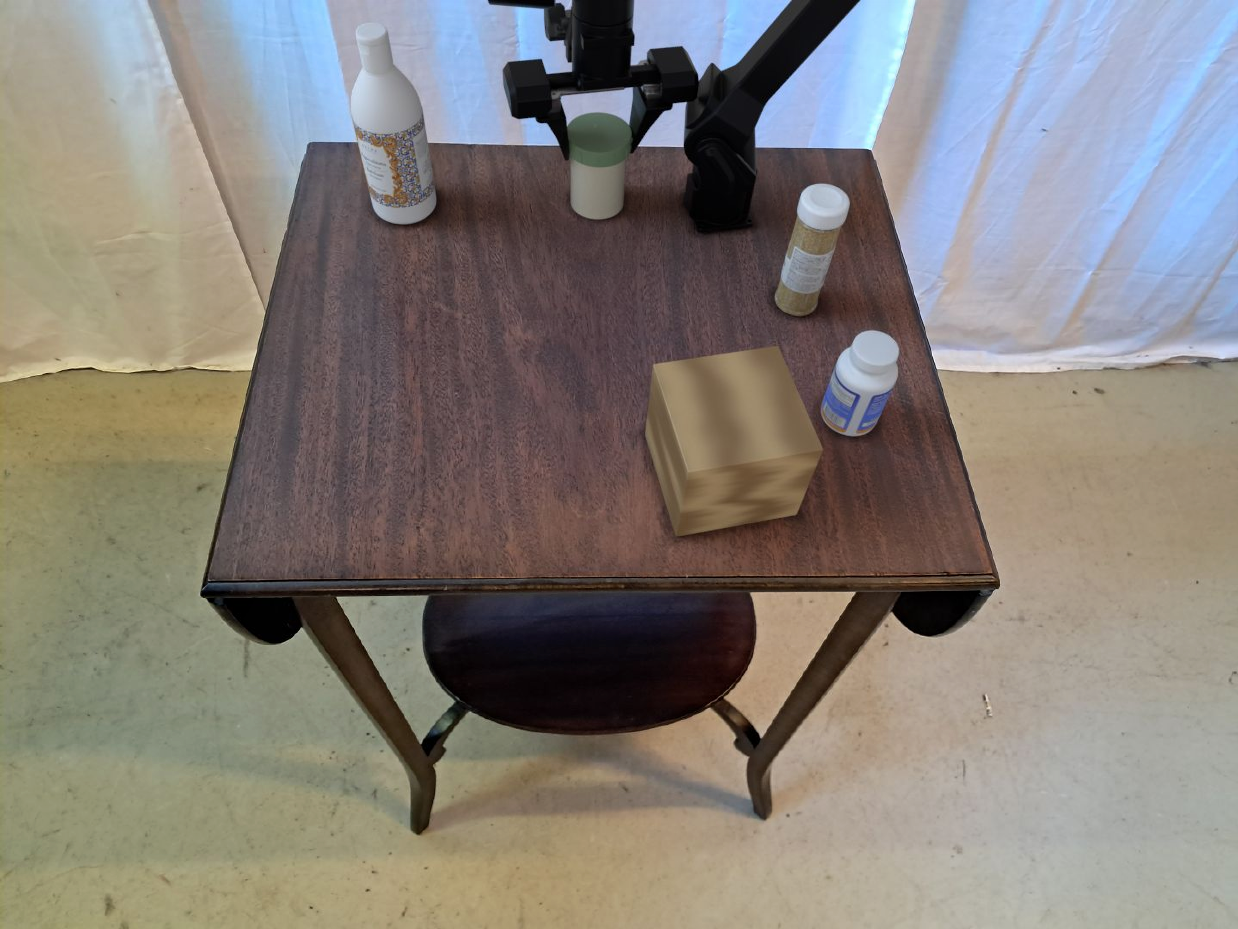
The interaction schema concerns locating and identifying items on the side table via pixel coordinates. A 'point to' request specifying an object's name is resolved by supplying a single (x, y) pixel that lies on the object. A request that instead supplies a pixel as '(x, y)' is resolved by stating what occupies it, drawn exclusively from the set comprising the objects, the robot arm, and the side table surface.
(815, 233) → the sprinkles bottle
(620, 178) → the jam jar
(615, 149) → the jar lid
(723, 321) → the side table surface
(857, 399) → the pill bottle
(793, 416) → the oak stand
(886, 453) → the side table surface
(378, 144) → the bath foam
